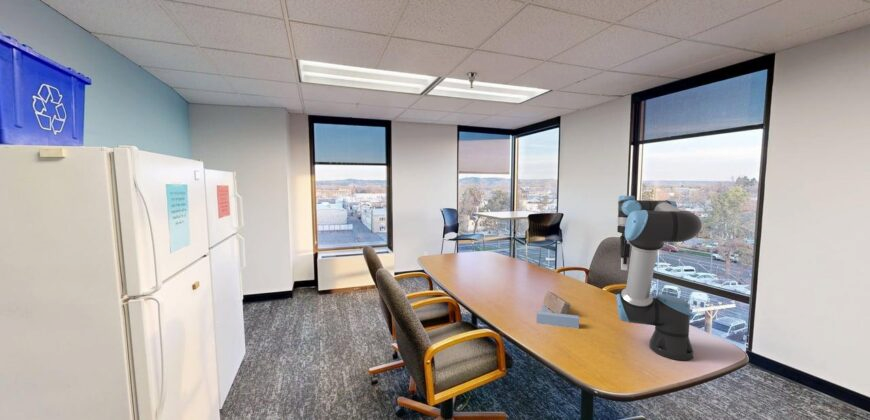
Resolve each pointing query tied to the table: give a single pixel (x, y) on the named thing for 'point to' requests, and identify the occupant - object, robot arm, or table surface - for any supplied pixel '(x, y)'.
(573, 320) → the board
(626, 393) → the table surface
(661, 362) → the table surface
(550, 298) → the brick
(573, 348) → the table surface
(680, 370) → the table surface
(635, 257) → the robot arm
